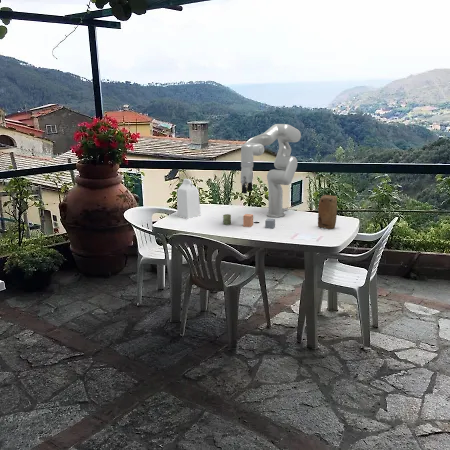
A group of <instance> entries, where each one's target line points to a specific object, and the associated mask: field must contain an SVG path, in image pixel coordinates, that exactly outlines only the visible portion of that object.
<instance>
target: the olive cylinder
mask: <svg viewBox="0 0 450 450" xmlns="http://www.w3.org/2000/svg"><path fill="white" fill-rule="evenodd" d="M222 216H223V217H222V218H223V225H224V226H230V225H232V214H230V213H227V214H226V213H225V214H222Z"/></svg>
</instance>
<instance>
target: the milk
mask: <svg viewBox="0 0 450 450" xmlns="http://www.w3.org/2000/svg"><path fill="white" fill-rule="evenodd" d="M176 192H177V196H176V197H177V198H176V199H177V201H176V203H177V209H176V212H177V214H176V215H177V216H176V217H179V216H180V217H179V218H182V217H183V219H186V218H187V220H190V219H194V218H198V217H201V216H202V213H201V203H200V195H199V194H200V192H199V189H198V188H197V186H195V185H194V184H193V182H192V180H191V179H188V178H184V179H183V181H182V183H181V184H180V185H179V187H178V189H177V190H176ZM193 217H194V218H193ZM189 218H190V219H189Z"/></svg>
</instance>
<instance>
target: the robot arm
mask: <svg viewBox="0 0 450 450" xmlns="http://www.w3.org/2000/svg"><path fill="white" fill-rule="evenodd" d="M301 138H302V134H301V131H300V130H299V129H297V128H296V127H294V126H292V125H290V124H288V123H286V124H285V123H276V124H273V125H271V127H269V128H268V129H267V130H265V132H263V133H261V134H260V133H259V134H258V135H255V136H253V137H251V138H249V139H248V140H247V141H246V142H244V144H241V147H240V158H241V159H240V167H241V169H240V170H241V171H240V183H241V194H246V195H247V194H248V192H252V191H253V178H254V177H253V175H254V172H253V168H254V157H255V156H257V157H259V156H262V155H263V154H264V153H265V146H266V147H267V146H269V145H272V144H273V143H274V142H275V141H276V140H277V142H278V150H277V154H276V157H275V160H274V163H273V166H274V168H275V169H270V170H269V171H268V172H267V175H266V181H267V187H268V188H267V189H268V212H266V217H269V218H282V217H285V216H286V215H285V212H288V208H284V207H283V203H284V202H283V196H284V195H283V194H284V191H283V187H282V186H289V185H290V184H291V183H292V182H293V178H294V176H295V173H296V171H297V168H298V159H297V158H296V157H295V156H293V155H291V153H292V147H291V145H290V143H298V142H299V141H300V140H301Z"/></svg>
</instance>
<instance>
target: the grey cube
mask: <svg viewBox="0 0 450 450" xmlns="http://www.w3.org/2000/svg"><path fill="white" fill-rule="evenodd" d="M264 221H265V225H264V227H265V228H264V229H270V230H271V229H272V230H274V229H275V228H276V218H267V219H265V220H264Z"/></svg>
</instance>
